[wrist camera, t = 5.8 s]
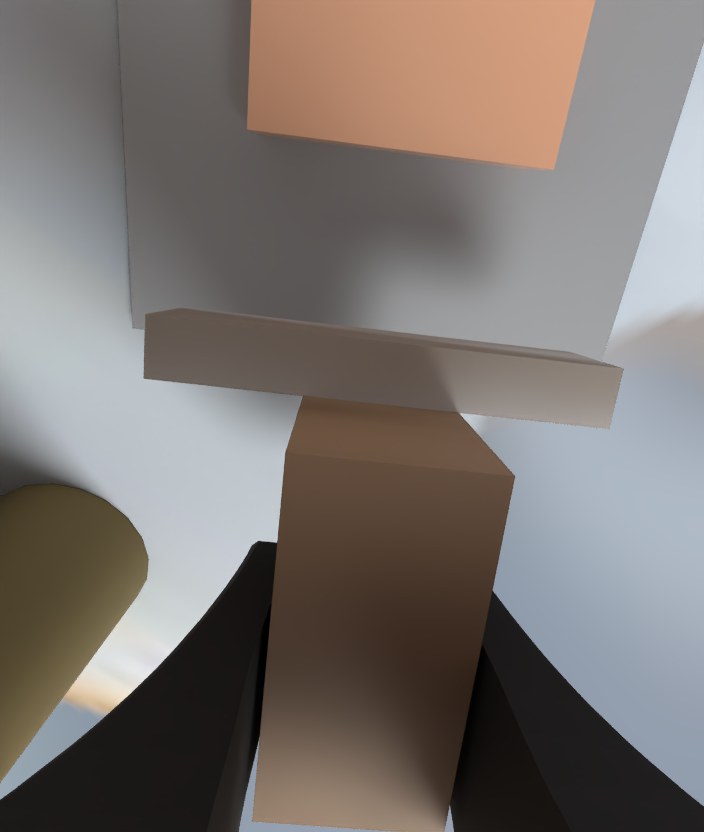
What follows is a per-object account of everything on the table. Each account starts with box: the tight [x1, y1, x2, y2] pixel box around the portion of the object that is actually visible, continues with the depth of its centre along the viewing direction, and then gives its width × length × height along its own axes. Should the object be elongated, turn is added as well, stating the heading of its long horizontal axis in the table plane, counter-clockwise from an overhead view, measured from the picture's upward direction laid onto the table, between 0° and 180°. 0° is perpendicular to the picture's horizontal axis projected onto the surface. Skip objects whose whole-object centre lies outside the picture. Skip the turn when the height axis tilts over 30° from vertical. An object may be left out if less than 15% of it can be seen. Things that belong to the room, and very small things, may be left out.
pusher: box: [144, 307, 623, 832], centre depth 11 cm, size 7×9×6 cm
